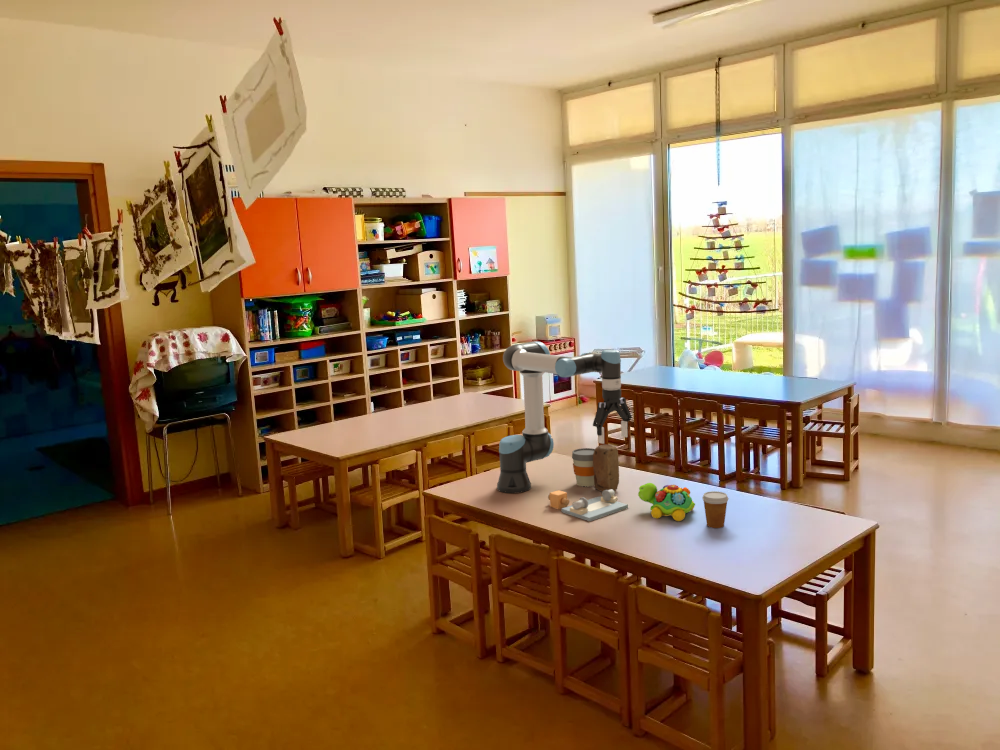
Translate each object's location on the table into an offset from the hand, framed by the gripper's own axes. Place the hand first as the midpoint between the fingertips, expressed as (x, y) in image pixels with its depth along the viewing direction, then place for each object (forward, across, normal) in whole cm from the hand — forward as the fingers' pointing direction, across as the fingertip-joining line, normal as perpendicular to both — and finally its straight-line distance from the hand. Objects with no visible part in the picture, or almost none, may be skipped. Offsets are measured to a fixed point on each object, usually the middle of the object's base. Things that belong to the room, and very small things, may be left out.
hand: (613, 439), depth 323 cm
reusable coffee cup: (+28, +14, +30) cm, 44 cm away
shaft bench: (+28, -9, +2) cm, 30 cm away
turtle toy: (+28, +8, -21) cm, 36 cm away
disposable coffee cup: (+28, +10, -43) cm, 52 cm away
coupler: (+28, -16, +16) cm, 36 cm away
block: (+28, +13, +17) cm, 35 cm away
